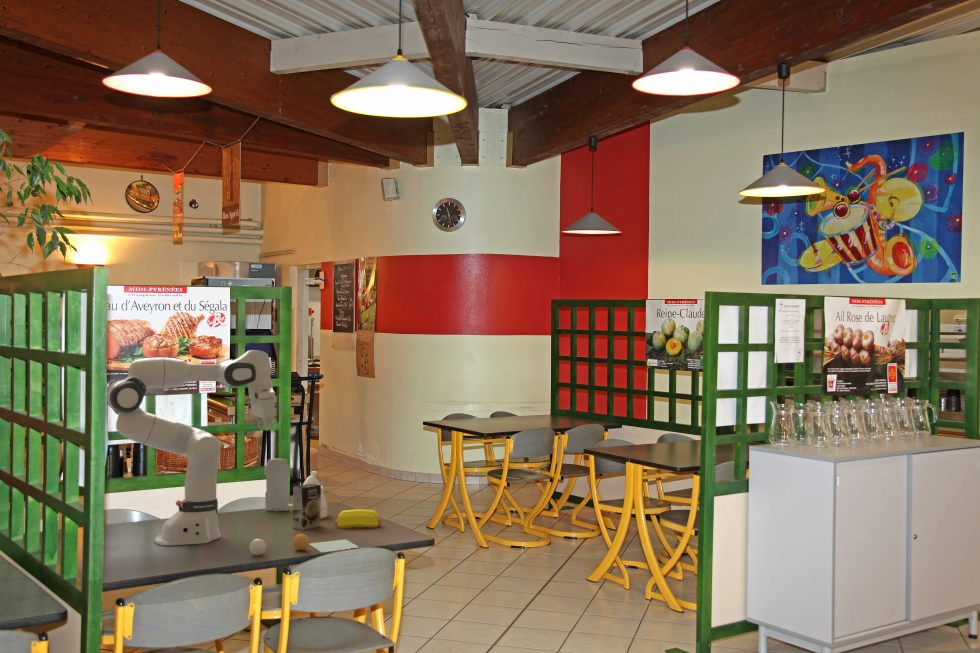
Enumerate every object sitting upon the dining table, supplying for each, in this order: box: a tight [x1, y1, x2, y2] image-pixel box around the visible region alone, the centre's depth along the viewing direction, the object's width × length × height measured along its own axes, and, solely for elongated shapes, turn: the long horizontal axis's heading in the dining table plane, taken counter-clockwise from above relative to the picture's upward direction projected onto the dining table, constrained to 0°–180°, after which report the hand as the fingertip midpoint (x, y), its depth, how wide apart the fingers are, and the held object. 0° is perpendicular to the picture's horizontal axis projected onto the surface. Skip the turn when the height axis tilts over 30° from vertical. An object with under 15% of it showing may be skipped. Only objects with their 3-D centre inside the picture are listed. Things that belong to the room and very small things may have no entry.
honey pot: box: [302, 470, 328, 519], centre depth 367 cm, size 13×13×18 cm
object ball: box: [292, 533, 310, 551], centre depth 311 cm, size 6×6×6 cm
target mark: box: [308, 539, 359, 554], centre depth 316 cm, size 14×14×1 cm
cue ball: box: [248, 538, 267, 556], centre depth 303 cm, size 6×6×6 cm
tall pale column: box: [264, 457, 291, 512], centre depth 378 cm, size 11×4×22 cm, turn 96°
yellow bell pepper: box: [334, 508, 382, 529], centre depth 348 cm, size 18×7×8 cm
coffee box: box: [292, 484, 322, 531], centre depth 347 cm, size 9×6×16 cm
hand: (264, 428), depth 338 cm, fingers open, 8 cm apart
